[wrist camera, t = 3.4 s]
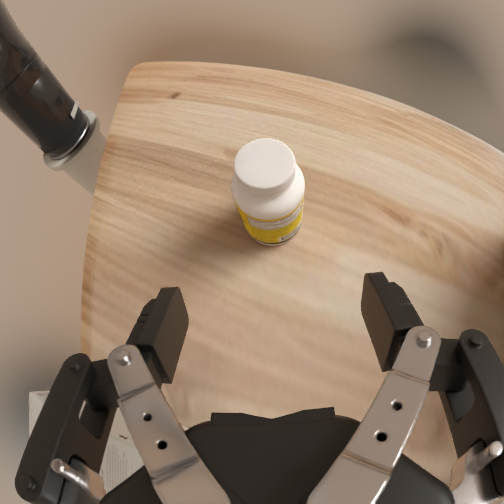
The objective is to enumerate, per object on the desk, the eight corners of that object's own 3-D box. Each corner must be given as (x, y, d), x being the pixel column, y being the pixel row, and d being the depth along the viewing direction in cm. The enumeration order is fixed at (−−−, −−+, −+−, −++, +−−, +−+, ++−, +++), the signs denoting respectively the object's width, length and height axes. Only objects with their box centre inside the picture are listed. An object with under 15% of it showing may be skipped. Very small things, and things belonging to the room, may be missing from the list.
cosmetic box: (182, 461, 15) (25, 387, 17) (173, 522, 13) (24, 444, 15) (208, 430, 23) (78, 383, 25) (199, 481, 21) (74, 430, 23)
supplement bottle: (249, 191, 28) (232, 127, 19) (304, 197, 28) (310, 133, 18) (239, 243, 27) (215, 193, 18) (297, 251, 26) (303, 203, 17)
